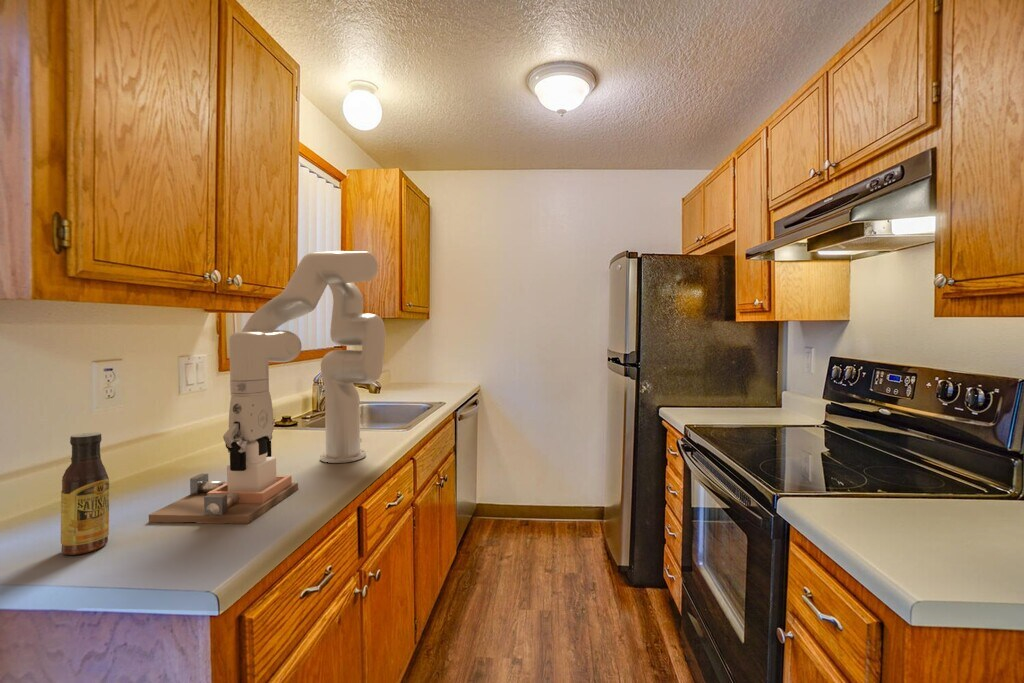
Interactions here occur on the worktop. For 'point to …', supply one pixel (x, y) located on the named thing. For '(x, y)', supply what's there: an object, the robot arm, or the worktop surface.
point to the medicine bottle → (253, 469)
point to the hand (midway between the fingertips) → (251, 463)
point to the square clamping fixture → (223, 502)
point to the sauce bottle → (84, 497)
